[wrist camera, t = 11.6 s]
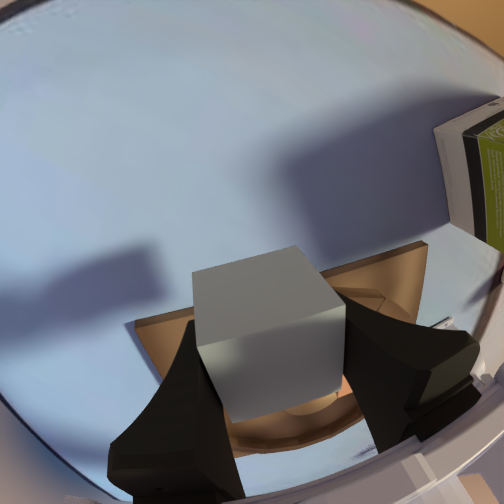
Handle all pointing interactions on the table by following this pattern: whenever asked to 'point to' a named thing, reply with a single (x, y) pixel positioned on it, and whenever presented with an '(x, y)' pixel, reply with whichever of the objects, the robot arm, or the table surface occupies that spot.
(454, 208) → the tea box
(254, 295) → the grey cube
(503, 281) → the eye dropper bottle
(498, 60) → the table surface
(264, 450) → the groove tray
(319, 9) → the table surface
